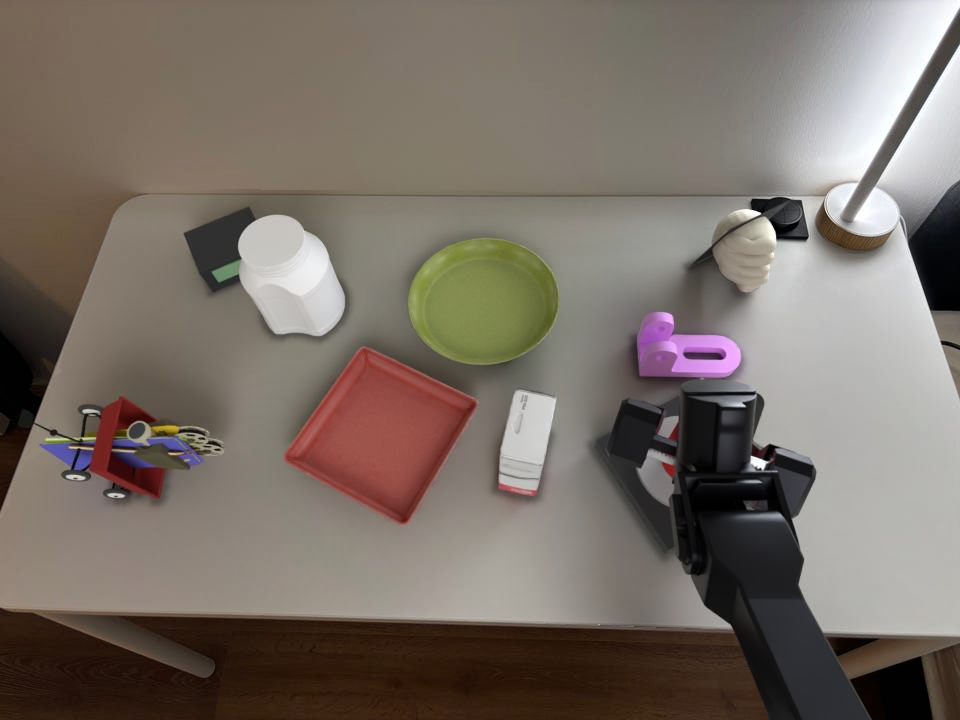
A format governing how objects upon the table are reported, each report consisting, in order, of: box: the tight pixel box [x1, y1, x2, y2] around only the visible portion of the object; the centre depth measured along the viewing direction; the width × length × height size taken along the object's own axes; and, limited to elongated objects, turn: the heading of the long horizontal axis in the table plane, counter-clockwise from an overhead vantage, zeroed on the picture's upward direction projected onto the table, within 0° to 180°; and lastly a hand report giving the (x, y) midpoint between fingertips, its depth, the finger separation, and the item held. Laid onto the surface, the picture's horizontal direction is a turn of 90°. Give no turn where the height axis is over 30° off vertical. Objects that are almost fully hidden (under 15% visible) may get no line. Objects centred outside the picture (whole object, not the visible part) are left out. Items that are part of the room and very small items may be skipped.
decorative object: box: [689, 198, 794, 293], centre depth 88 cm, size 13×10×10 cm
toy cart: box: [17, 395, 226, 500], centre depth 75 cm, size 17×9×20 cm
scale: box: [594, 395, 752, 555], centre depth 78 cm, size 15×15×3 cm
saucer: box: [407, 237, 561, 366], centre depth 90 cm, size 21×21×3 cm
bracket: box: [636, 311, 742, 379], centre depth 83 cm, size 13×6×7 cm, turn 88°
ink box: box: [497, 387, 557, 497], centre depth 76 cm, size 9×5×12 cm, turn 167°
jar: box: [238, 214, 346, 337], centre depth 86 cm, size 12×10×15 cm
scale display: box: [182, 205, 257, 293], centre depth 95 cm, size 8×10×5 cm
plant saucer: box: [282, 346, 479, 527], centre depth 81 cm, size 18×18×3 cm
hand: (704, 427), depth 71 cm, fingers open, 9 cm apart
